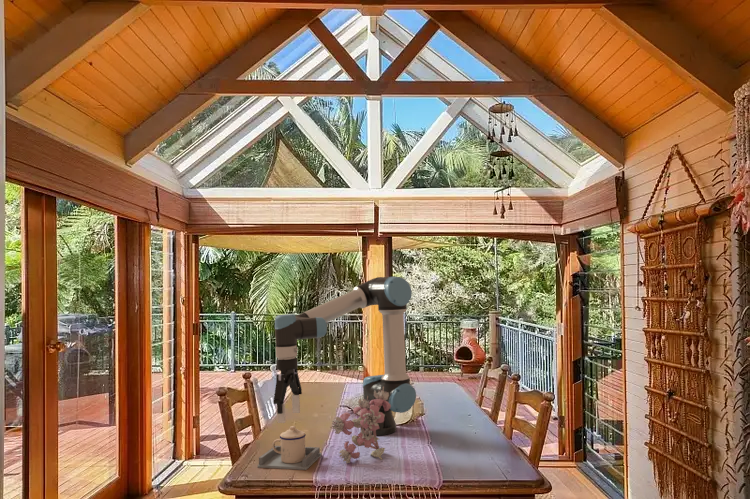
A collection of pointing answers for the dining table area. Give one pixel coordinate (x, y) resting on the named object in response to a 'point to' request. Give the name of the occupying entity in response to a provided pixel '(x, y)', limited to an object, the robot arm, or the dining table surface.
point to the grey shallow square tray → (274, 461)
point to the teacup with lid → (291, 445)
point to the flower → (363, 426)
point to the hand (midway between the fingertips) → (289, 417)
